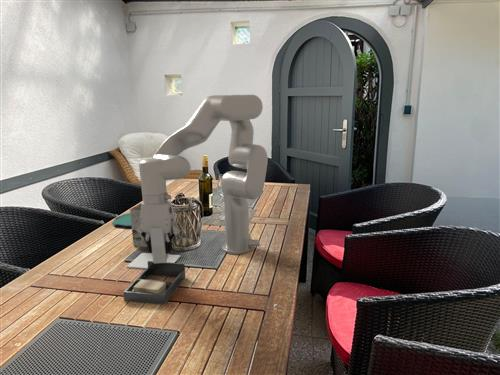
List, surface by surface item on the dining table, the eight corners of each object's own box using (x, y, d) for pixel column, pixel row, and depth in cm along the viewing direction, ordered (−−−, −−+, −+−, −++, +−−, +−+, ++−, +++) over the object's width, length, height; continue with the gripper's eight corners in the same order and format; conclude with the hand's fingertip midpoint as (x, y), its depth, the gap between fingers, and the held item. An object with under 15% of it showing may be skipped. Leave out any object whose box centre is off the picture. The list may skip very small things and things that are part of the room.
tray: (185, 276, 126) (184, 263, 124) (165, 304, 109) (163, 289, 108) (149, 274, 128) (148, 261, 127) (124, 300, 112) (122, 285, 111)
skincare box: (156, 255, 124) (152, 222, 121) (168, 255, 124) (166, 221, 121) (152, 263, 118) (149, 228, 115) (166, 263, 118) (163, 228, 115)
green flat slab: (125, 214, 193) (125, 210, 193) (180, 217, 189) (180, 213, 188) (106, 228, 174) (105, 224, 174) (166, 232, 170) (166, 227, 169)
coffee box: (147, 247, 151) (143, 209, 147) (133, 246, 152) (129, 209, 148) (157, 238, 160) (154, 203, 156) (143, 238, 161) (140, 202, 157)
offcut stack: (167, 294, 115) (166, 282, 114) (160, 302, 111) (159, 290, 110) (140, 291, 118) (139, 279, 117) (132, 299, 113) (130, 286, 112)
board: (180, 256, 142) (180, 255, 142) (168, 270, 130) (168, 269, 130) (142, 253, 145) (142, 252, 145) (126, 267, 133) (126, 266, 133)
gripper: (185, 195, 117) (189, 248, 122) (135, 194, 121) (141, 245, 125) (176, 202, 110) (180, 258, 115) (124, 201, 113) (130, 255, 118)
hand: (160, 250), depth 120 cm, fingers closed on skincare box, 5 cm apart
